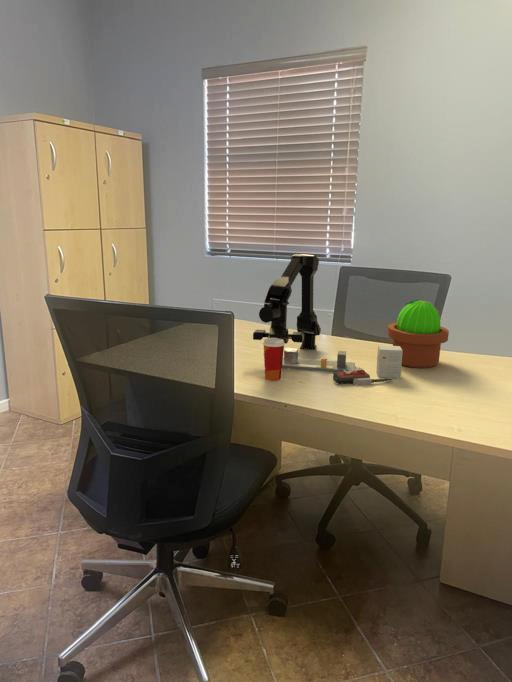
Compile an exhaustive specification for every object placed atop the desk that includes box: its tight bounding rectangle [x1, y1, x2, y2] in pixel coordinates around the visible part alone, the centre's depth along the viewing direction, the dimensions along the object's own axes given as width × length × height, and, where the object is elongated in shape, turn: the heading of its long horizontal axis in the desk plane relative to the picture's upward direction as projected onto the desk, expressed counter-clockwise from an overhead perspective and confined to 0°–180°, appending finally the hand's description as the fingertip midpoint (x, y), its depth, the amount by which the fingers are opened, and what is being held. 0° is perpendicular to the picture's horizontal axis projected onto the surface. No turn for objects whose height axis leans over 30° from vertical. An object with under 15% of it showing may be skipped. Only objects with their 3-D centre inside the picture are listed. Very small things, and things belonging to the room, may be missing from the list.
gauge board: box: [282, 350, 356, 373], centre depth 197 cm, size 10×30×6 cm, turn 79°
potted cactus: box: [387, 299, 450, 369], centre depth 202 cm, size 22×22×25 cm
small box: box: [376, 345, 403, 379], centre depth 187 cm, size 8×6×10 cm
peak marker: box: [320, 356, 328, 367], centre depth 192 cm, size 2×2×3 cm
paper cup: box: [262, 337, 286, 382], centre depth 182 cm, size 8×8×14 cm
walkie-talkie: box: [332, 367, 393, 386], centre depth 182 cm, size 9×4×20 cm
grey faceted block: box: [283, 347, 299, 364], centre depth 197 cm, size 7×5×4 cm, turn 168°
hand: (277, 357), depth 199 cm, fingers closed
